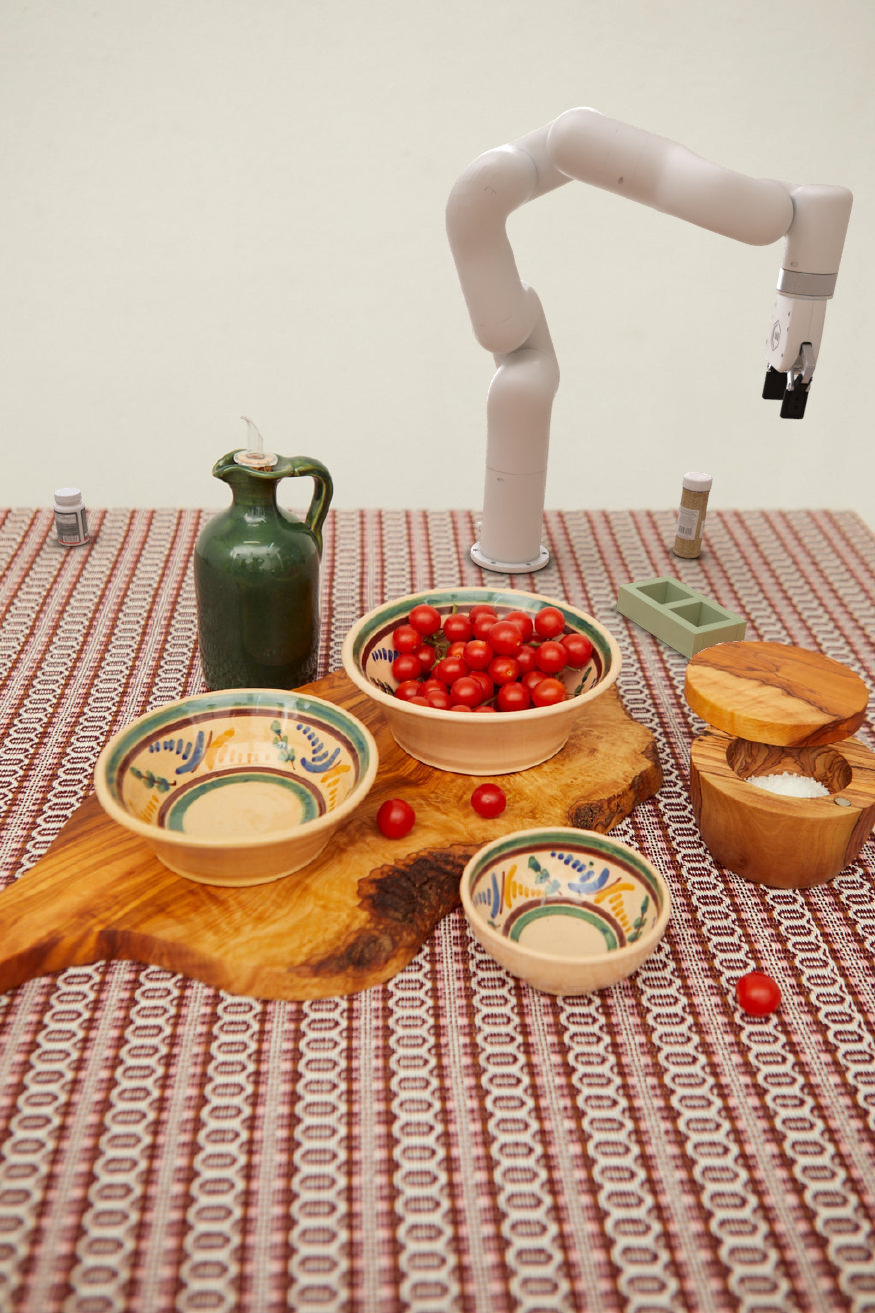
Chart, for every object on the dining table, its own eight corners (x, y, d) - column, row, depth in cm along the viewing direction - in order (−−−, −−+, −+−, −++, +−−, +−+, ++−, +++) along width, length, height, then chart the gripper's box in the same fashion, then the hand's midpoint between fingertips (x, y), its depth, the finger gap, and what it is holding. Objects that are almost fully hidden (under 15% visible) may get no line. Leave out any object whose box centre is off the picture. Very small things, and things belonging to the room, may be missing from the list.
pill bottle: (76, 533, 178) (70, 484, 174) (95, 540, 176) (89, 490, 172) (52, 541, 175) (45, 491, 171) (71, 549, 172) (64, 498, 168)
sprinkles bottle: (705, 555, 180) (719, 477, 173) (685, 561, 177) (698, 482, 171) (686, 546, 183) (698, 469, 176) (666, 551, 181) (677, 473, 174)
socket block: (691, 660, 147) (695, 634, 145) (616, 610, 160) (619, 585, 158) (742, 647, 151) (747, 621, 149) (665, 599, 164) (669, 574, 162)
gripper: (762, 271, 156) (741, 391, 164) (796, 294, 140) (771, 425, 149) (814, 274, 156) (791, 393, 164) (854, 297, 141) (826, 427, 149)
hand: (781, 408), depth 156 cm, fingers open, 9 cm apart
